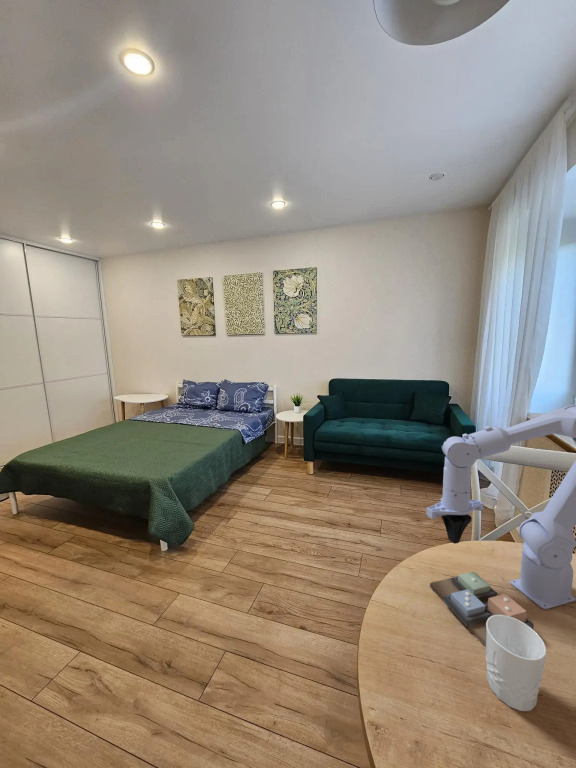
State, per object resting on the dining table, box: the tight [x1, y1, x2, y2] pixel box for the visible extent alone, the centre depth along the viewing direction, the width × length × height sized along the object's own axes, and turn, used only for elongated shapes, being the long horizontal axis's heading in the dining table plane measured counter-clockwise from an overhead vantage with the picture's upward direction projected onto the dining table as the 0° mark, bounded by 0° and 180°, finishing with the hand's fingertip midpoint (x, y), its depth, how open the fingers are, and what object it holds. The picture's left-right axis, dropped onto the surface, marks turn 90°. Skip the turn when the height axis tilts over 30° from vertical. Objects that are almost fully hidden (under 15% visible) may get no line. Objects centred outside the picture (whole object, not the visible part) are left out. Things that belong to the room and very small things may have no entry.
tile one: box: [458, 571, 492, 596], centre depth 70 cm, size 4×4×3 cm
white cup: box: [485, 615, 547, 712], centre depth 50 cm, size 8×8×10 cm
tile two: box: [488, 593, 527, 623], centre depth 62 cm, size 4×4×3 cm
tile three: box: [450, 589, 485, 617], centre depth 65 cm, size 4×4×3 cm
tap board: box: [429, 576, 535, 648], centre depth 66 cm, size 12×17×2 cm
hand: (453, 540), depth 74 cm, fingers closed
